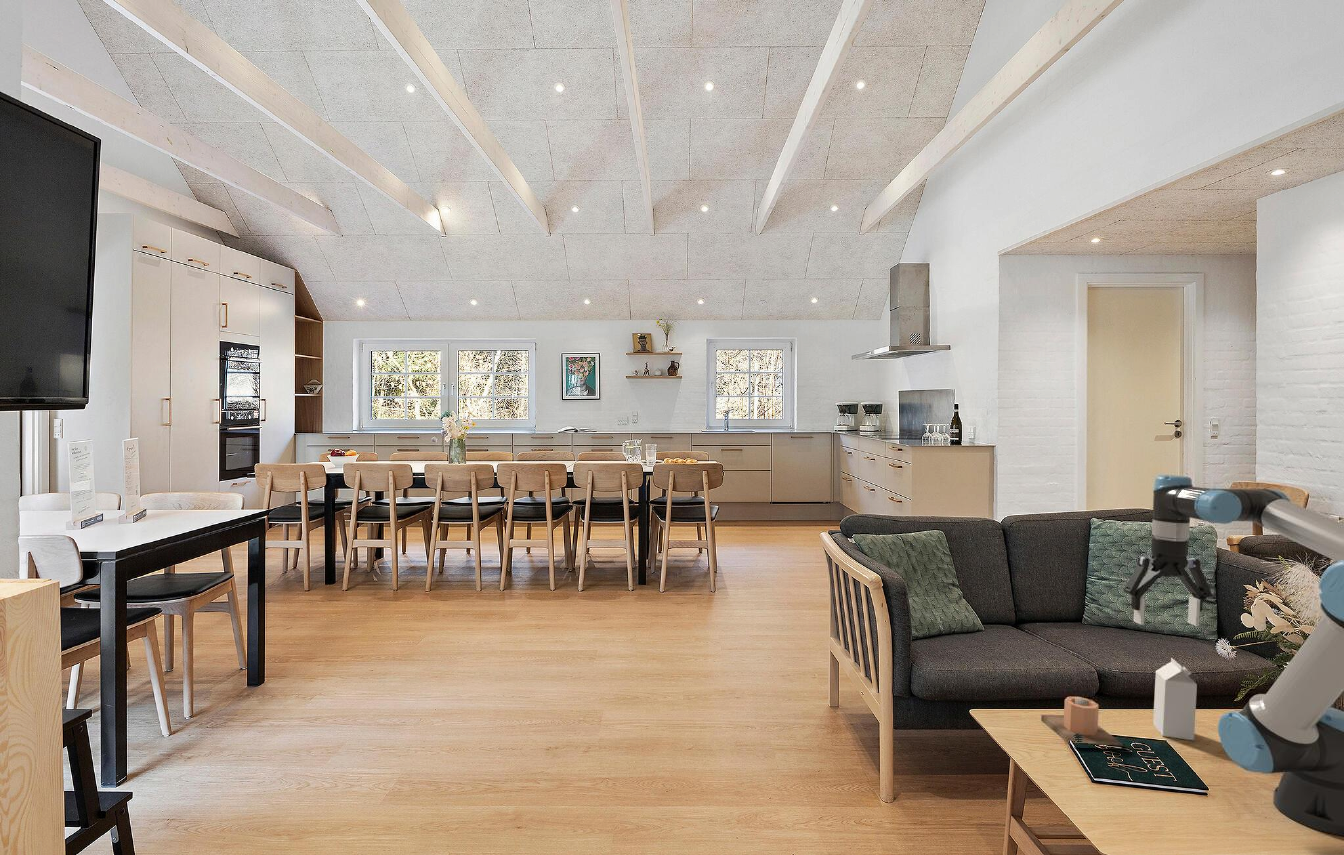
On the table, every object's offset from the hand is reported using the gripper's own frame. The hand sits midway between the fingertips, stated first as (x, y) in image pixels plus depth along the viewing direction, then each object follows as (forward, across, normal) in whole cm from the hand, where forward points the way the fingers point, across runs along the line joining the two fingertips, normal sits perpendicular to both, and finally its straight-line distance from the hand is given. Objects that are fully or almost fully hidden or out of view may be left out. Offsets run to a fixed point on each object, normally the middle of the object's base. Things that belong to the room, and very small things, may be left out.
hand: (1165, 623), depth 175 cm
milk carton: (+33, -12, -12) cm, 37 cm away
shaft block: (+33, +14, -10) cm, 37 cm away
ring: (+31, +14, -10) cm, 36 cm away
